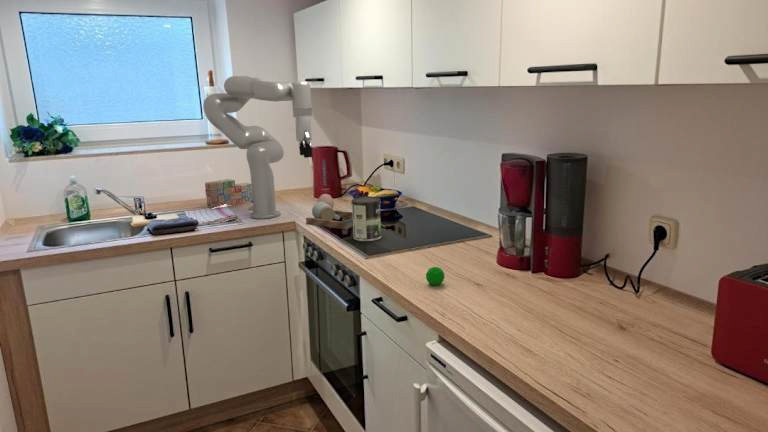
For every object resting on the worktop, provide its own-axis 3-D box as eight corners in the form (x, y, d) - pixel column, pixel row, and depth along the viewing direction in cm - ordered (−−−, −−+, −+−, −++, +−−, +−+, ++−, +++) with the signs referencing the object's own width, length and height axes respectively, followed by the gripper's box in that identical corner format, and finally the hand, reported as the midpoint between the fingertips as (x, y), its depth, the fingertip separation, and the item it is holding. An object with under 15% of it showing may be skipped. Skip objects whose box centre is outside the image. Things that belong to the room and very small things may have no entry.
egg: (314, 212, 241) (313, 193, 239) (328, 209, 245) (327, 191, 243) (323, 215, 236) (322, 196, 234) (337, 212, 240) (336, 193, 238)
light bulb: (320, 224, 219) (319, 205, 217) (312, 220, 226) (311, 202, 224) (343, 221, 224) (343, 202, 223) (335, 217, 231) (334, 199, 230)
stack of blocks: (247, 200, 272) (245, 176, 270) (254, 202, 268) (252, 177, 265) (207, 207, 259) (204, 182, 256) (213, 209, 254) (210, 183, 251)
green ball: (434, 289, 146) (434, 272, 145) (422, 284, 150) (422, 267, 149) (448, 284, 149) (448, 268, 148) (436, 279, 152) (436, 263, 151)
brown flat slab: (306, 223, 221) (305, 216, 220) (331, 215, 234) (331, 208, 233) (345, 229, 210) (345, 221, 209) (370, 220, 223) (369, 213, 223)
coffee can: (382, 233, 203) (381, 196, 199) (380, 241, 193) (379, 202, 189) (354, 234, 203) (353, 196, 200) (351, 241, 193) (349, 202, 190)
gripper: (290, 113, 224) (293, 154, 228) (296, 114, 208) (300, 159, 212) (308, 112, 226) (311, 153, 230) (316, 113, 210) (319, 157, 214)
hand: (305, 156), depth 221 cm, fingers open, 9 cm apart
